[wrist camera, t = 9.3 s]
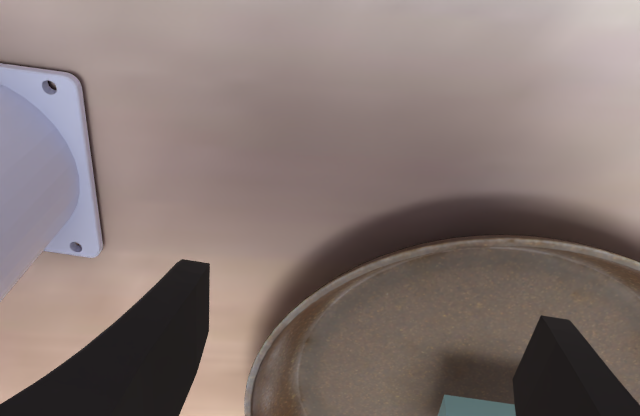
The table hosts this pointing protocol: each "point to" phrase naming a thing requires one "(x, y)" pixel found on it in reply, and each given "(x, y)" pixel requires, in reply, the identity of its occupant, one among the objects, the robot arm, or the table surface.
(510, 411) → the block
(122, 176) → the table surface
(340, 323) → the plant saucer
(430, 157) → the table surface
